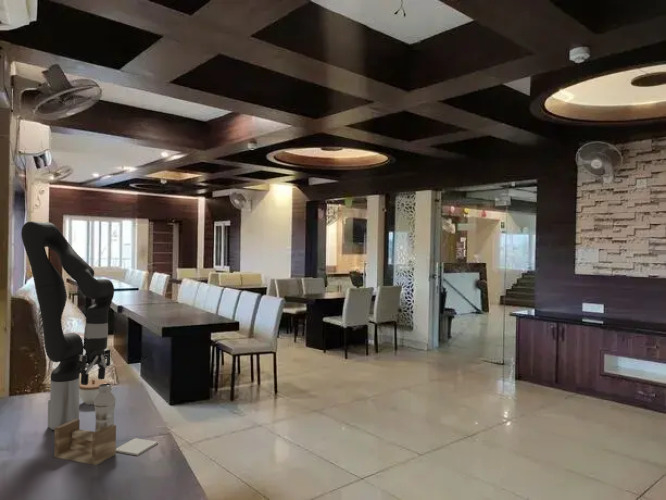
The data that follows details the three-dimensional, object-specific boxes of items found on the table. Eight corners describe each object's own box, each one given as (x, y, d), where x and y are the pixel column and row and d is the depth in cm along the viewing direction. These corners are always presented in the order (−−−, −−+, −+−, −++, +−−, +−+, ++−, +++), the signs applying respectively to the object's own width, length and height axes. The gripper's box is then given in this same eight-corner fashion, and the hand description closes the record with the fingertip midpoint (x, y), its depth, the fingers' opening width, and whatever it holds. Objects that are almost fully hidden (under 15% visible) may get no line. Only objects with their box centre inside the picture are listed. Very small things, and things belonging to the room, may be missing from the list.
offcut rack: (54, 457, 150) (54, 427, 150) (75, 447, 158) (75, 418, 158) (96, 465, 146) (96, 434, 146) (115, 454, 153) (116, 425, 153)
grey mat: (113, 451, 155) (113, 449, 155) (135, 439, 165) (135, 438, 165) (137, 455, 153) (137, 453, 153) (157, 443, 162) (157, 441, 162)
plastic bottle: (107, 451, 156) (108, 388, 156) (88, 448, 157) (89, 386, 157) (119, 443, 162) (120, 383, 162) (101, 441, 163) (102, 381, 163)
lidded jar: (82, 399, 207) (82, 377, 207) (109, 397, 210) (110, 375, 209) (75, 407, 197) (75, 384, 197) (104, 405, 199) (104, 382, 199)
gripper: (100, 332, 180) (97, 376, 179) (72, 337, 166) (68, 385, 165) (118, 333, 178) (115, 378, 178) (91, 339, 164) (88, 387, 164)
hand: (92, 381), depth 171 cm, fingers open, 8 cm apart
